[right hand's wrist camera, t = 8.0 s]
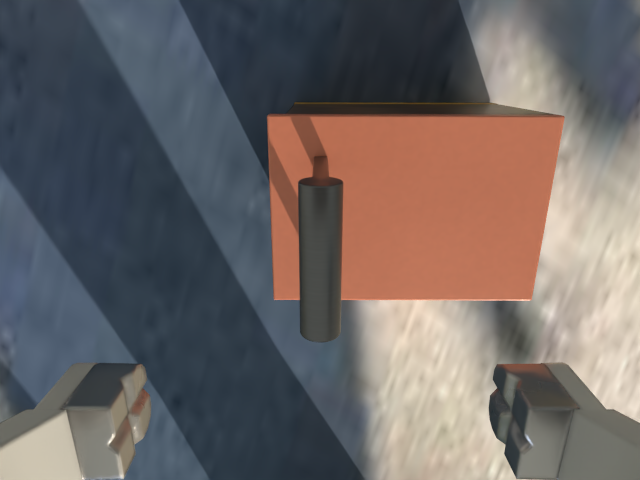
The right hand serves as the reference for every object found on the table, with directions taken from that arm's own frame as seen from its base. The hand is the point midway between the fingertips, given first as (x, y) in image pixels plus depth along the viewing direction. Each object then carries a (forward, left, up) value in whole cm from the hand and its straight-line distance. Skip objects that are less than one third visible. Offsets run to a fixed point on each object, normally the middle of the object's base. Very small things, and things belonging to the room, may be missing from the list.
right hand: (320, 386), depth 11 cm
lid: (+2, +4, -15) cm, 16 cm away
